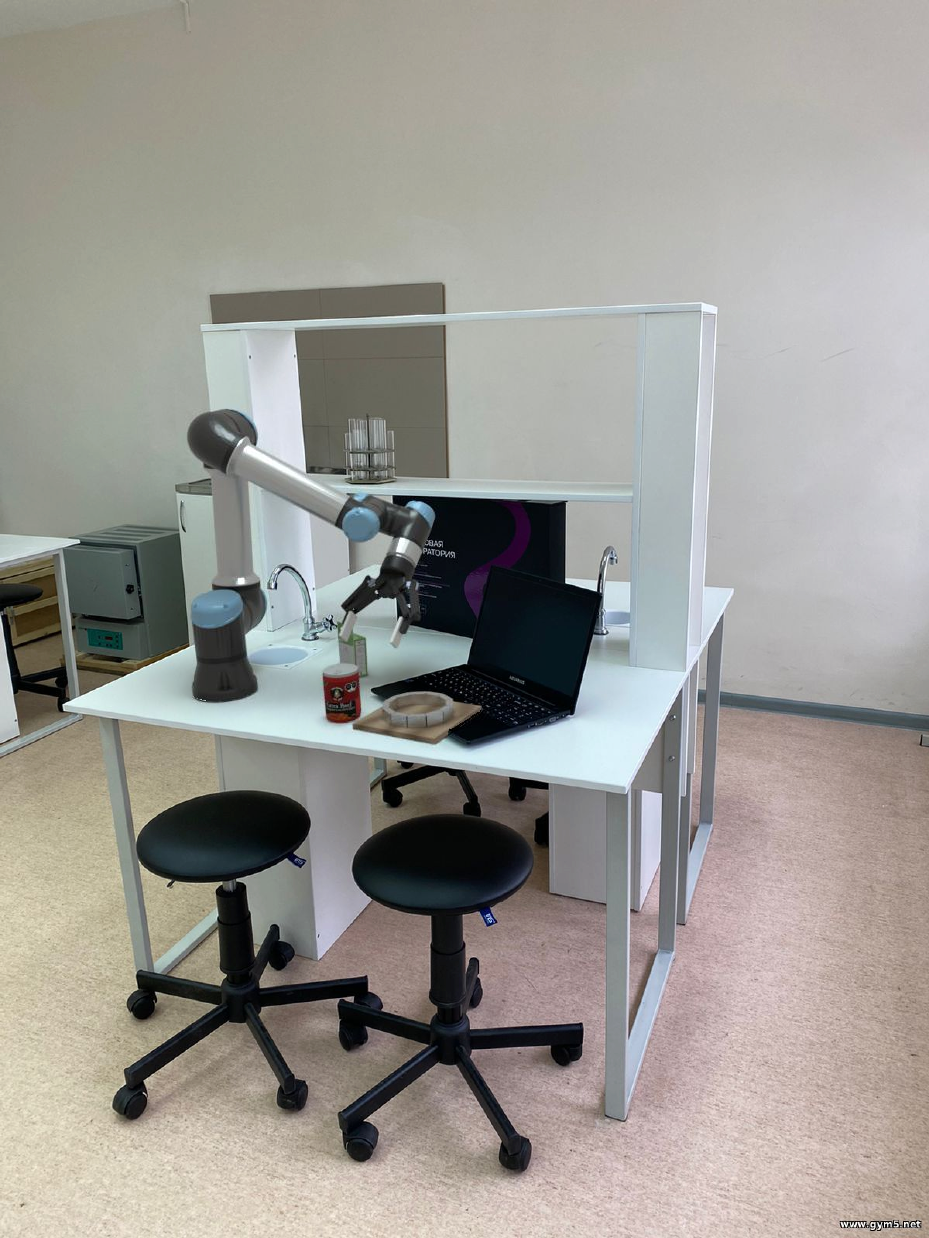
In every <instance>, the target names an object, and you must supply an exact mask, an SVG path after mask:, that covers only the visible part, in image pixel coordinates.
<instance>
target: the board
mask: <svg viewBox="0 0 929 1238" xmlns="http://www.w3.org/2000/svg"><path fill="white" fill-rule="evenodd" d="M439 709H441V708H440V707H438V706H432V705H410V706H406V707H402V708H398V709H397V710H395V712H399V713H405V714H425V713H429V712H433V711H437V710H439ZM481 709H483V708H482V705H476V704H470V703H465V702H460V701H459V702H458V701H453V717H452V718H451V719H449V720H448V721H446V722H445V723H443V724H439V725H435V726H431V727H426V728H403V727H398V726H392V725H390V724H388V723H387V722H385V721H384V720H383V719H382V706H380V707H378V708H377V709H375V710H374V711H372V712H371V713H368V714H366V715H365V716H363V717H360V719H357V720H355V722H354V721H353V723H352V729H353V730H356V731H363V732H368V733H373V734H378V735H384V736H389V737H395V738H399V739H405V740H410V741H415V742H420V743H426V744H431V745H436V744H437V743H439V742H440V741H442V740H443V739H444V738H446V737H447V736H449V735H448V731H449V729H452V728H454V727H455V726H457V725H459V724H460V723H462V722H464V721H465V720H467V719H469V718H470V717H471V716H472V715H474V714H476V713H477V712H480V710H481ZM480 713H481V712H480Z"/></svg>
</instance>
